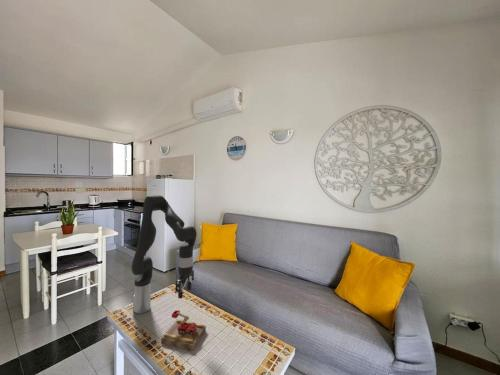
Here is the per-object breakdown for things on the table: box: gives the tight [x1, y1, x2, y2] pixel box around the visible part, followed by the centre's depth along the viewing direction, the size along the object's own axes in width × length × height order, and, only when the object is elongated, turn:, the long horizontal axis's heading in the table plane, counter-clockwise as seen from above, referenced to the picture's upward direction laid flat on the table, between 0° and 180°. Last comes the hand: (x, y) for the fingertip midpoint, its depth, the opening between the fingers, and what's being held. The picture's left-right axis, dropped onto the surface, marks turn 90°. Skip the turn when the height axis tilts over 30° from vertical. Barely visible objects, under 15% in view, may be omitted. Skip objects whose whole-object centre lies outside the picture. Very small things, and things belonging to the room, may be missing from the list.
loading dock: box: [160, 319, 207, 352], centre depth 110 cm, size 18×14×4 cm
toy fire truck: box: [171, 310, 197, 335], centre depth 110 cm, size 3×14×10 cm, turn 78°
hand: (184, 293), depth 111 cm, fingers open, 8 cm apart
